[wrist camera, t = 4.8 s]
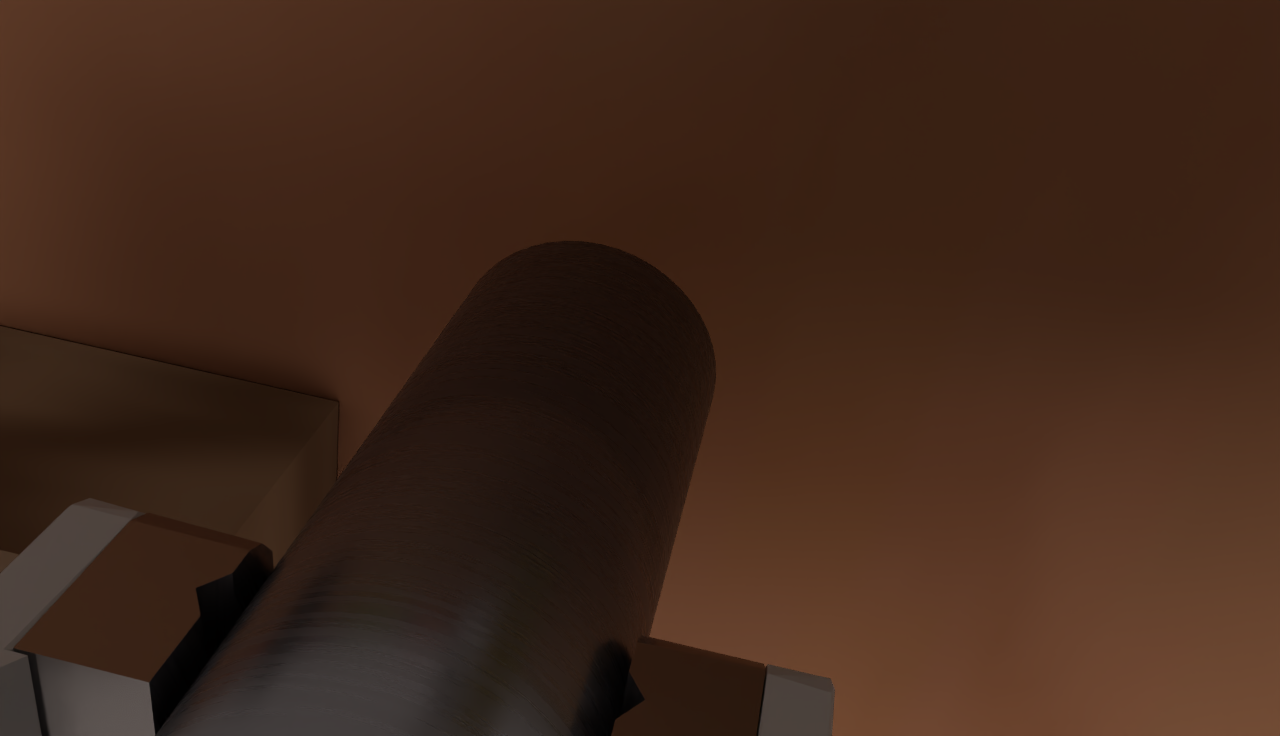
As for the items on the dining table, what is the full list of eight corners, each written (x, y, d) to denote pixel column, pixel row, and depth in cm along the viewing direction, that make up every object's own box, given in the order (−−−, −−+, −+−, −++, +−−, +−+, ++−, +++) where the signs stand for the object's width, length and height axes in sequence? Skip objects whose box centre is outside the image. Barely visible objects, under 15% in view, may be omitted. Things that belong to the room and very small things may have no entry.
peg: (738, 273, 12) (478, 1206, 5) (692, 498, 14) (441, 1475, 6) (465, 215, 13) (-190, 1011, 5) (449, 441, 14) (-73, 1312, 7)
